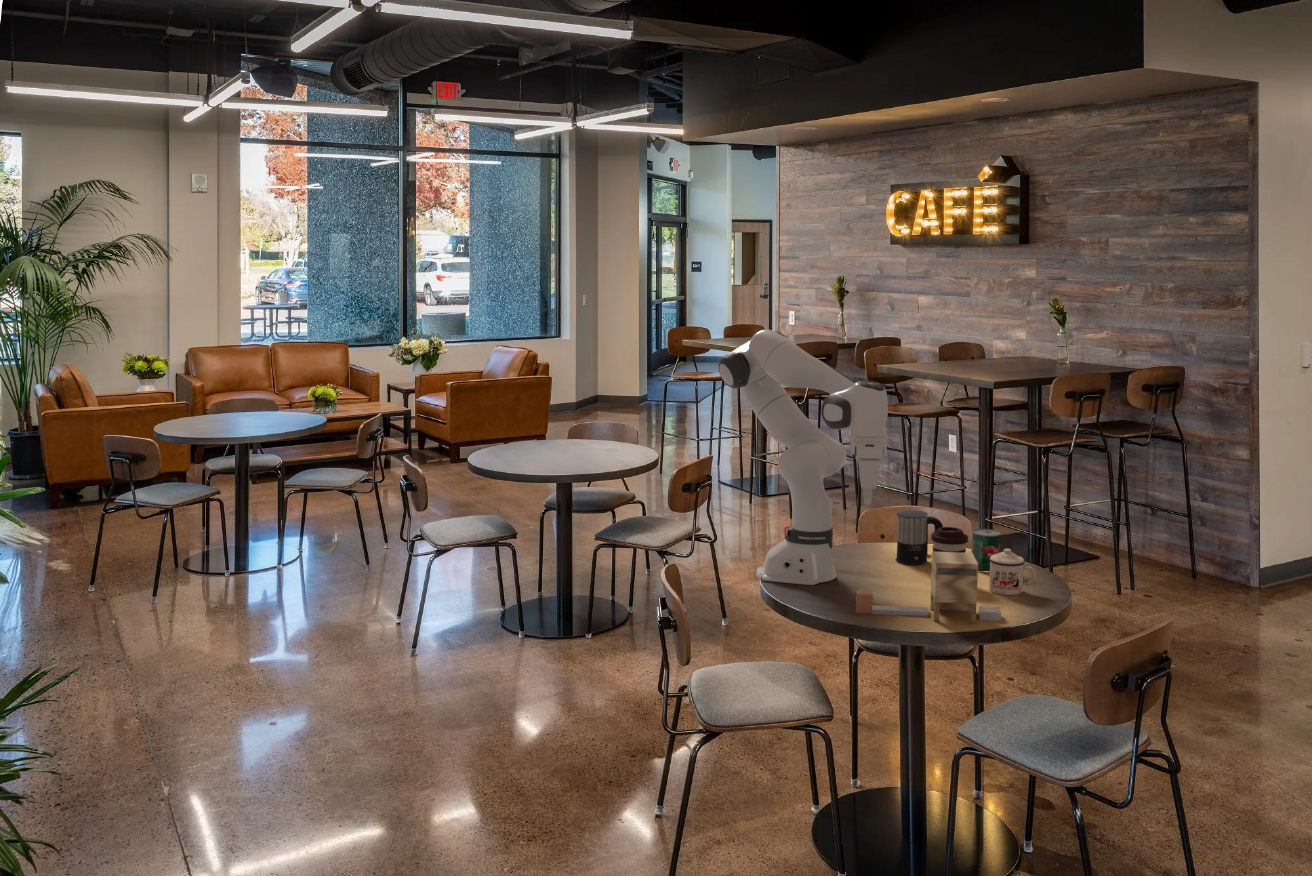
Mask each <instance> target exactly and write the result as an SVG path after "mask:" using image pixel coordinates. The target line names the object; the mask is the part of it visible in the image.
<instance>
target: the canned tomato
mask: <svg viewBox="0 0 1312 876" xmlns="http://www.w3.org/2000/svg"><path fill="white" fill-rule="evenodd" d="M971 532H972V533H971V534H972V535H971V536H972V537H971V539H972V540H971V553H973V555H974V557H975V559H976V561H977V563H978V571H989V572H990V557H991V556H992V555H996V554H999V553H1001V551H1000V550H1001V535H1002V533H1001V532H1000V531H999V530H995V529H989V528H977V529H973V530H972V531H971Z"/></svg>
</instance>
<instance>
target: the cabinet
mask: <svg viewBox="0 0 1312 876" xmlns="http://www.w3.org/2000/svg"><path fill="white" fill-rule="evenodd" d="M978 575H979V572H978V563H977V561H976V559H975V557H974V555H973V553H972V552H965V553H961V552H933V550H932V552H931V575H930V577H931V578H930V604H929V605H930V607H929V608H930V610H933V621H934V622H937V621H939V622H940V609H942V610H941V611H960V612H962V611H963V612H970V615H969V616H970V617H969V623H970V624H976V623H977V622H976V621H977V601H978V600H977V599H978Z"/></svg>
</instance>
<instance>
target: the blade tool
mask: <svg viewBox="0 0 1312 876" xmlns="http://www.w3.org/2000/svg"><path fill="white" fill-rule="evenodd" d="M855 591H856V594H855V613H856V614H866V613H872V615H881V614H882V615H886V616H887V615H888V616H903V615H916V616H915V617H926V616H929V615H930V614H929V613H930V611H929V608H928V607H918V606H899V605H898V606H896V605H894V606H893V605H876V604H875V605H874V604H873V601H874V600H873V597H874V596H873V594H874V593H873V591H871V590H870V591H869V590H855Z"/></svg>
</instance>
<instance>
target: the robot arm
mask: <svg viewBox="0 0 1312 876" xmlns="http://www.w3.org/2000/svg"><path fill="white" fill-rule="evenodd" d="M718 372H719V375H720V377H721V379H722V381H723V382H724V384H726V386H728V387H729V388H731V389H733V390H736V389H741V388H743V394H744V396H745V399H746V400H747V403H748V405H749V406H750V408H751V410H752V411H753V413H754V415H755V416H756V417H757V419H758V420H759V421H760V423H761V424H762V426H763V427H764V428H765V429H766V431H767V433H768V434H769V436H770V437H771V439H773V440H774V441H775V442H777V443H779V444H782V445H784V446H785V448H786V449H785V450H784V451H783V452H781V454H780V455H779V458H778V461H777V467H778V471H779V474H780V476H781V477H782V478H783V479H784V480H785V481H786V482H787V485H788V486H787V487H788V489H789V492H790V496H791V506H792V508H791V509H792V511H791V514H792V515H791V517H792V519H791V521H792V523H791V525H789V524H786V525H785V526H784V527H783V532H784V540H782V541H781V542H779V543H778V544H777V545H775V546H773V547H772V548H770V549H769V550H768V552H767V553H766V556H765V558H764V563H763V565H760V566H758V568H757V569H756V578H757V579H759V580H761V576H762V580H761V581H763V582H764V581H766V582H775V583H776V582H777V583H786V584H795V585H804V586H805V585H807V586H814V585H817V584H819V583H826V582H830V581H833V580H834V579H836V577H837V574H836V571H835V570H836V569H835V566H834V560H833V545H834V530H833V526H832V521H833V519H832V515H833V513H832V512H833V511H832V509H833V504H832V503H833V502H832V499H831V497H829V496H828V494H827V492H826V489H825V487H824V478H827V477H831V476H833V475H834V474H836V473H837V472H839V471H840V470H841V469H842V468H843V467H844V466H845V464H846V462H847V458H848V457H847V451H846V448H845V446H844V445H843V444H842V443H841V442H840V441H839V440H837V439H835V438H833V437H830V436H829V435H827V434H826V433H825V432H824V431H823V430H821V429H820V428H819V427H818V426H816V424H814V423H813V422H812V421H811V420H810V419H809V418H808V417H807V416H806V415H805V414H804V413H803V412H802V410H801V409H800V407H799V406H798V405H797V404H796V402H795V400H793V399H792V397H791V396H790V394H789V393H788V392H787V390H785V389H786V388H784V387H787V388H794V389H795V388H796V389H797V388H798V389H815V390H820V391H823V392H826V393H828V395H827V396H825V398H824V399H823V402H822V405H821V409H820V410H821V417H822V420H823V422H824V423H825V425H826V426H827V427H828V428H830V429H832V430H837V431H839V430H842V431H843V430H850V431H851V432H850V453H851V454H853V455H854V456H855V460H856V461H857V462H858V469H859V470H858V472H859V474H858V475H859V480H860V487H861V490H862V496H863V504H864V505H865V506H871V505H872V498H873V493H874V491H876V489H877V486H878V482H879V475H880V467H881V460H883V458H884V456H885V455H886V454H887V447H888V445H887V442H888V440H887V438H888V433H887V429H886V425H887V420H888V417H889V416H888V413H889V409H888V405H889V403H888V394H887V389H886V388H885V386H884V385H883V384H882V383H880V382H876V381H874V380H873V381H872V380H858V381H855V380H853V379H852V378H850V377H848V376H847V375H845V374H843V372H840V371H839V370H837V369H836V368H834V367H832V366H831V365H829V364H827V363H825V362H824V361H822V360H819V358H816V357H815V356H813V355H811V354H810V353H808V352H807V351H805V350H804V349H802V348H801V347H799V345H797V344H795V342H793V341H791V339H789V338H787V337H786V336H785V334H783V333H782V332H780V331H778V330H771V329H761V330H759V331H757V332H756V333H754V335H753V336H752V337H751V339H750V340H748V341H746V342H744V343H743V344H741V345H740V346H738V347H737V348H735V349H734V350H732V351H729V352H726V353H725V355H723V356H722V357H721V358H720V359H719V362H718ZM783 386H784V387H783Z"/></svg>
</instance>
